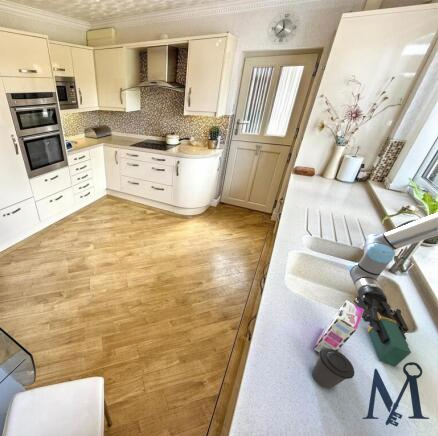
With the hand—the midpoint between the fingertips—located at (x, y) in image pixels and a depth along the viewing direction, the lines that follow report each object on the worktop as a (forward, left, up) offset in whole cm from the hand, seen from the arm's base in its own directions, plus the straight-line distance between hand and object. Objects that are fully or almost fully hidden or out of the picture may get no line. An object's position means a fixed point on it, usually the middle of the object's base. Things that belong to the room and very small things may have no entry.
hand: (394, 344), depth 73 cm
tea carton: (0, -3, -6) cm, 7 cm away
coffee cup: (+20, +18, -6) cm, 28 cm away
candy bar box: (+17, +5, -6) cm, 19 cm away
